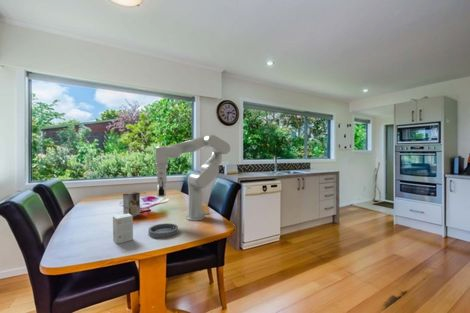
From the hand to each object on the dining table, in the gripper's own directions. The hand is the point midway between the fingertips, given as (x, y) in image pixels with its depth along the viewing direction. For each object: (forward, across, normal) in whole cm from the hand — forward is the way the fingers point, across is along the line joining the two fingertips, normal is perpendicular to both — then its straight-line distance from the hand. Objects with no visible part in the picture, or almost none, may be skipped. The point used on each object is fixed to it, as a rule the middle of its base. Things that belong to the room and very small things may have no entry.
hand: (161, 194), depth 143 cm
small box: (+20, -21, +18) cm, 34 cm away
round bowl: (+19, -15, -2) cm, 24 cm away
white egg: (+1, 0, 0) cm, 1 cm away
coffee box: (+20, +25, +22) cm, 39 cm away
